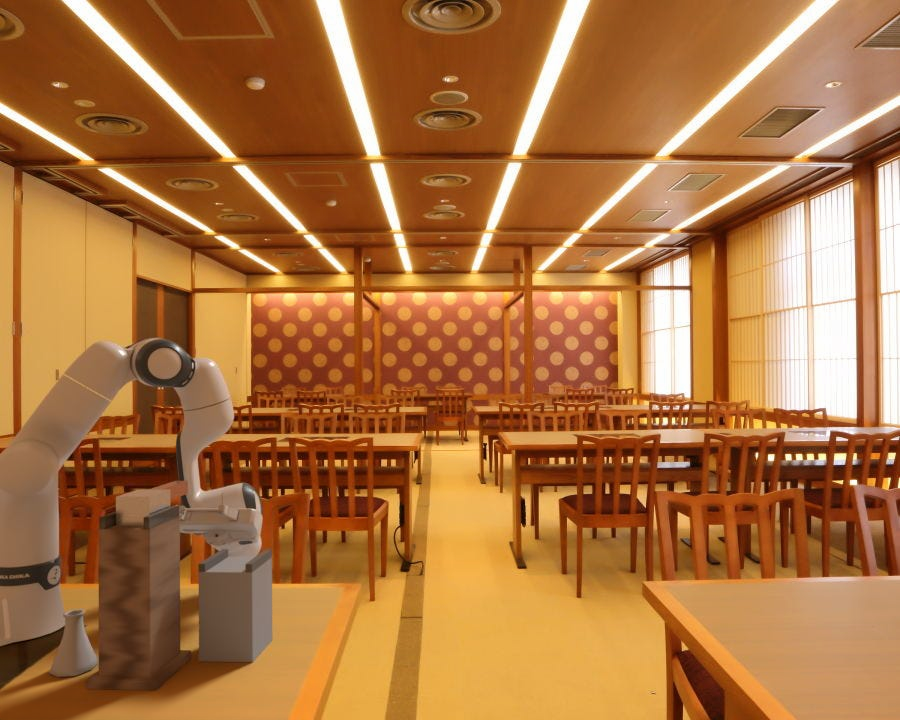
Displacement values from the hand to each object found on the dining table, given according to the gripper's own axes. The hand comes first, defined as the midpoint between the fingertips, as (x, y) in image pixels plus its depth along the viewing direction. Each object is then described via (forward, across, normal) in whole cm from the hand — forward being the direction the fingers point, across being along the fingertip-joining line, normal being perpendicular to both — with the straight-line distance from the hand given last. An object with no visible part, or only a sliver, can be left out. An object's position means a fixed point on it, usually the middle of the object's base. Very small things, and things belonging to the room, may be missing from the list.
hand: (199, 508), depth 135 cm
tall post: (+7, 0, +32) cm, 33 cm away
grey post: (-2, +13, +27) cm, 30 cm away
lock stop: (+15, 0, +6) cm, 16 cm away
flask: (+6, -13, +32) cm, 35 cm away
